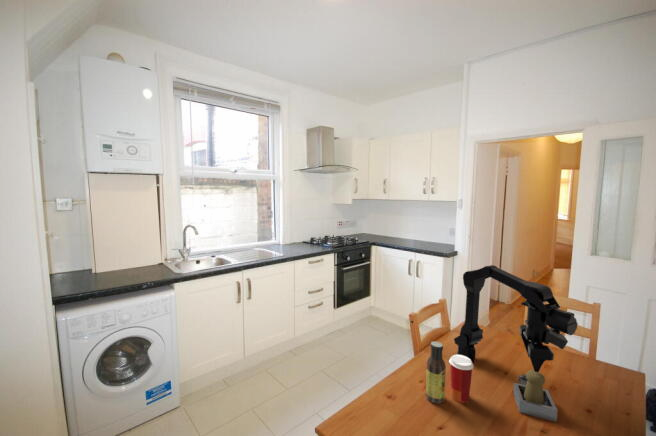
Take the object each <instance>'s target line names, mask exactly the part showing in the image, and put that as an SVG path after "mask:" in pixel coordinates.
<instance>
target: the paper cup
mask: <svg viewBox="0 0 656 436" xmlns="http://www.w3.org/2000/svg"><path fill="white" fill-rule="evenodd" d="M448 363H449V364H450V365H449V366H450V391H451V393H450V394H451V397H452V400H454V401H456V402H458V403H461V404H465V403H468V402H469V401H470V400H469V399H470V392H471V383H472V374H473V368H474V367H475V365H474V363H473V362H472V361H471V359H469V358H468V357H466V356H463V355H457V354H454V355H451V357H450V358H449V360H448Z"/></svg>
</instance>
